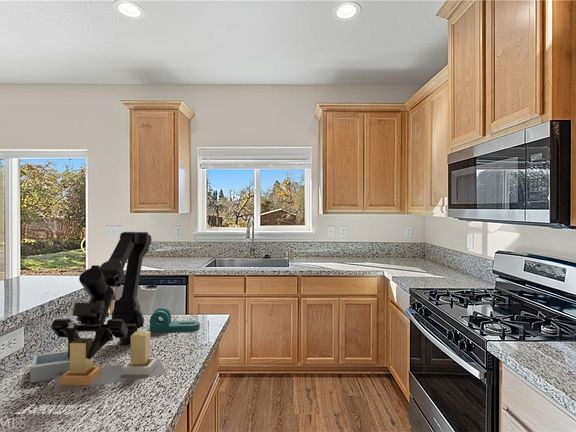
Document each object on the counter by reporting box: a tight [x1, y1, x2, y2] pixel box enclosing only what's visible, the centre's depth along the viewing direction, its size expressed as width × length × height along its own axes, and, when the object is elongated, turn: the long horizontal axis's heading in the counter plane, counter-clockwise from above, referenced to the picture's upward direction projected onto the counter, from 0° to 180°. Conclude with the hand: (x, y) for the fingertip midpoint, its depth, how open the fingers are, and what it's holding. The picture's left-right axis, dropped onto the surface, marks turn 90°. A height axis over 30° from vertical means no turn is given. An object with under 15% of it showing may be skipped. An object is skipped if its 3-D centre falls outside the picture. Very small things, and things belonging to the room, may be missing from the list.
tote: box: [29, 350, 70, 384], centre depth 112 cm, size 10×10×4 cm
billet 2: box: [130, 330, 151, 366], centre depth 111 cm, size 4×4×10 cm
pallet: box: [52, 357, 167, 394], centre depth 108 cm, size 12×26×4 cm, turn 117°
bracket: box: [149, 307, 201, 333], centre depth 155 cm, size 18×7×8 cm, turn 99°
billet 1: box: [70, 337, 94, 376], centre depth 105 cm, size 4×4×10 cm
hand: (78, 358), depth 104 cm, fingers open, 5 cm apart
